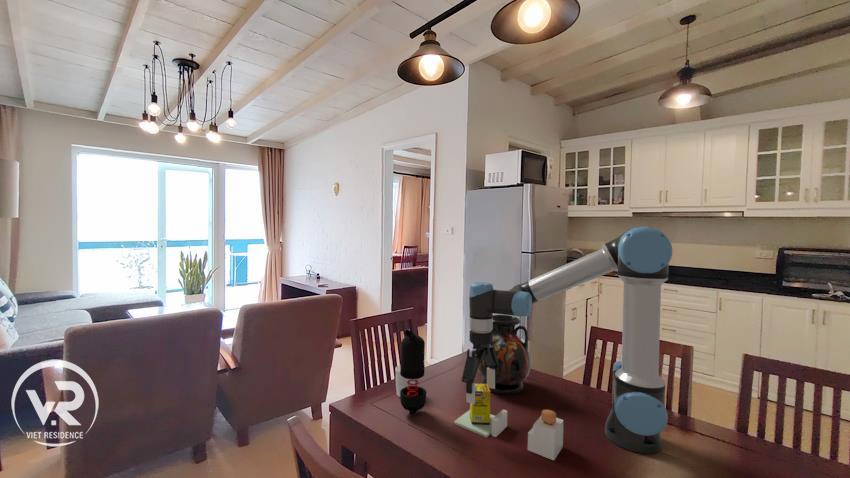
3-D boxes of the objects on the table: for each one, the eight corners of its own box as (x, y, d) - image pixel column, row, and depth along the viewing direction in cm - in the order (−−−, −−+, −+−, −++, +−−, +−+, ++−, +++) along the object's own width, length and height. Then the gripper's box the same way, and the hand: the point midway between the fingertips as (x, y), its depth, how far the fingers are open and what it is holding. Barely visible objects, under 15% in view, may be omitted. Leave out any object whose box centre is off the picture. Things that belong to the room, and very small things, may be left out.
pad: (504, 421, 118) (504, 419, 118) (486, 437, 108) (486, 435, 108) (472, 409, 125) (472, 407, 125) (453, 424, 115) (453, 421, 115)
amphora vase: (473, 395, 136) (474, 322, 135) (477, 373, 157) (478, 310, 156) (531, 402, 131) (533, 327, 130) (528, 378, 152) (529, 313, 151)
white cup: (419, 392, 137) (419, 367, 137) (407, 400, 131) (408, 374, 130) (403, 387, 141) (403, 362, 141) (390, 395, 135) (391, 369, 135)
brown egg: (557, 434, 103) (558, 412, 103) (553, 441, 100) (553, 418, 100) (543, 429, 105) (544, 408, 105) (538, 435, 102) (539, 413, 102)
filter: (419, 424, 115) (420, 332, 114) (393, 418, 118) (395, 329, 118) (433, 405, 128) (434, 322, 127) (409, 400, 131) (411, 319, 130)
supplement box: (490, 425, 114) (490, 391, 113) (471, 424, 114) (472, 391, 113) (487, 415, 120) (488, 383, 119) (469, 415, 120) (470, 383, 119)
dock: (562, 446, 104) (563, 420, 104) (553, 460, 98) (554, 432, 98) (502, 424, 116) (503, 400, 115) (491, 435, 109) (492, 409, 109)
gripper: (488, 320, 128) (488, 379, 128) (450, 337, 108) (450, 406, 108) (508, 324, 123) (508, 384, 124) (471, 341, 104) (471, 413, 104)
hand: (481, 395), depth 116 cm, fingers open, 13 cm apart
